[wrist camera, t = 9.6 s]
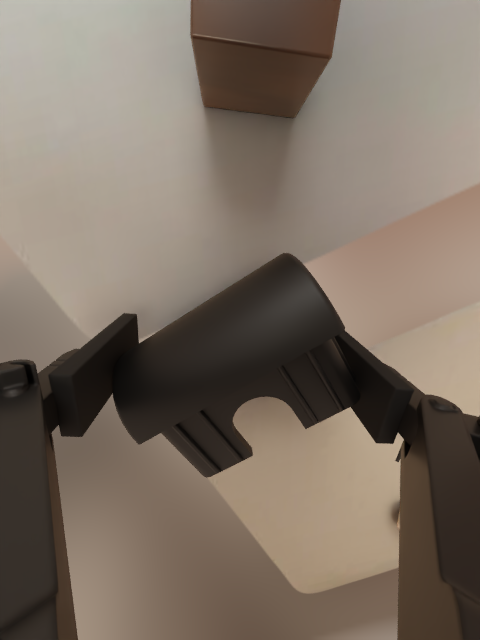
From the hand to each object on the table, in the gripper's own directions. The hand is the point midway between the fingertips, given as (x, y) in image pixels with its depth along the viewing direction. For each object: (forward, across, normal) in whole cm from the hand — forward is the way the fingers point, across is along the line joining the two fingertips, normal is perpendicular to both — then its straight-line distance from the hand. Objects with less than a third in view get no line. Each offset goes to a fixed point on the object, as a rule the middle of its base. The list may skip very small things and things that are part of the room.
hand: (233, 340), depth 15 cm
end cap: (+1, 0, 0) cm, 1 cm away
